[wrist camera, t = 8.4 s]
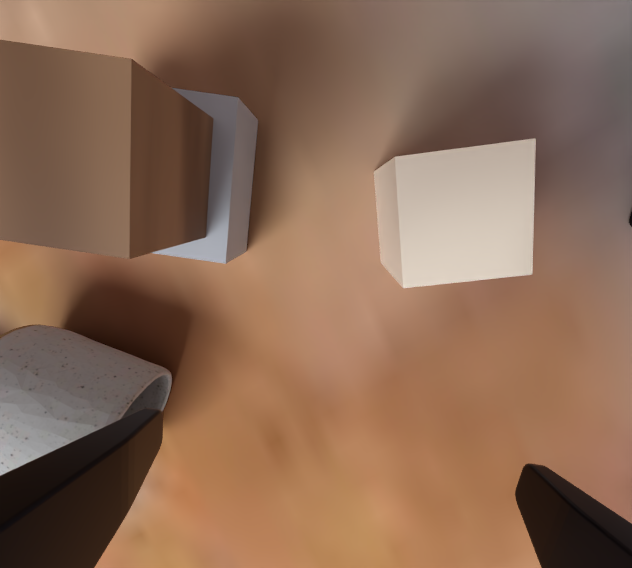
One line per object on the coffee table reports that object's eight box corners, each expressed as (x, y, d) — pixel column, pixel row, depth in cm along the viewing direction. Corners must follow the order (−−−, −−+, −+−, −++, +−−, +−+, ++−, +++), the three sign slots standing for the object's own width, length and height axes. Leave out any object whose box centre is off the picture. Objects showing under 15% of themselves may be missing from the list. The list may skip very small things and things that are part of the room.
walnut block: (213, 118, 14) (131, 59, 8) (205, 237, 15) (129, 258, 9) (95, 101, 14) (-70, 29, 8) (96, 221, 15) (-47, 232, 9)
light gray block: (258, 120, 18) (238, 96, 14) (246, 251, 19) (225, 263, 16) (127, 101, 18) (70, 73, 14) (126, 234, 19) (75, 241, 16)
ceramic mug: (58, 299, 21) (-96, 357, 13) (185, 347, 21) (105, 430, 14) (31, 435, 23) (-111, 547, 16) (144, 476, 24) (58, 604, 16)
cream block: (468, 159, 18) (535, 138, 12) (469, 252, 19) (532, 274, 13) (373, 171, 18) (394, 156, 12) (380, 262, 19) (403, 288, 14)
